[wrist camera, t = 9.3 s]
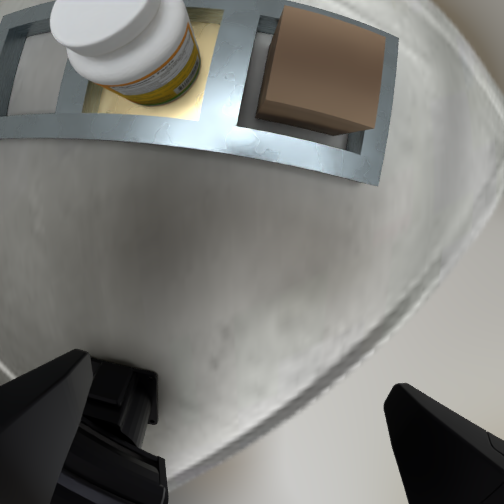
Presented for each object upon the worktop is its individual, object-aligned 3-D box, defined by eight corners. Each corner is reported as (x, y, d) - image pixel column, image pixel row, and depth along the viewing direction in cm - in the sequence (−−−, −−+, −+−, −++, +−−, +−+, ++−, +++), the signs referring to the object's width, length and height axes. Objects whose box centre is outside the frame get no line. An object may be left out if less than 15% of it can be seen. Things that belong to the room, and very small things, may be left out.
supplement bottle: (114, 45, 14) (37, -18, 5) (194, 22, 14) (168, -72, 5) (124, 118, 16) (32, 91, 7) (208, 95, 16) (184, 32, 7)
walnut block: (332, 136, 18) (374, 128, 12) (254, 118, 17) (265, 99, 11) (344, 66, 16) (385, 37, 11) (269, 47, 16) (284, 5, 10)
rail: (361, 182, 19) (378, 186, 16) (-9, 139, 15) (-29, 140, 13) (381, 48, 16) (398, 38, 13) (19, 24, 13) (3, 16, 10)
